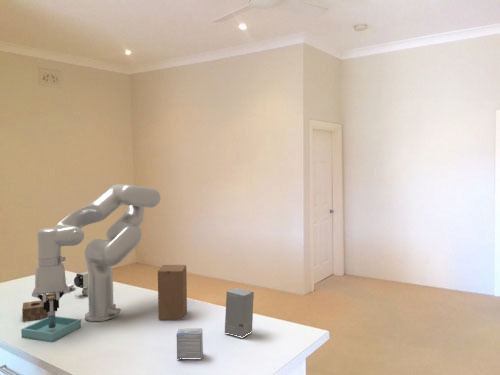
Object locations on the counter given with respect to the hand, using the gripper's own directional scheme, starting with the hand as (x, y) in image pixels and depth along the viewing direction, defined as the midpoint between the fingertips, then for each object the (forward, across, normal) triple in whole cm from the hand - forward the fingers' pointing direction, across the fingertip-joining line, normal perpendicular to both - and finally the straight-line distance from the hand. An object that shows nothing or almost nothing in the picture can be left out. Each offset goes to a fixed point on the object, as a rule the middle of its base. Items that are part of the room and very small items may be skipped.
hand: (51, 310), depth 151 cm
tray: (+8, 0, 0) cm, 8 cm away
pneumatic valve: (+8, -16, -42) cm, 46 cm away
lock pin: (+6, 0, 0) cm, 6 cm away
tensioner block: (+8, +6, -21) cm, 23 cm away
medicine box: (+8, -39, +43) cm, 59 cm away
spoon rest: (+9, -3, -60) cm, 61 cm away
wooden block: (+8, -44, +5) cm, 46 cm away
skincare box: (+8, -61, +34) cm, 70 cm away
